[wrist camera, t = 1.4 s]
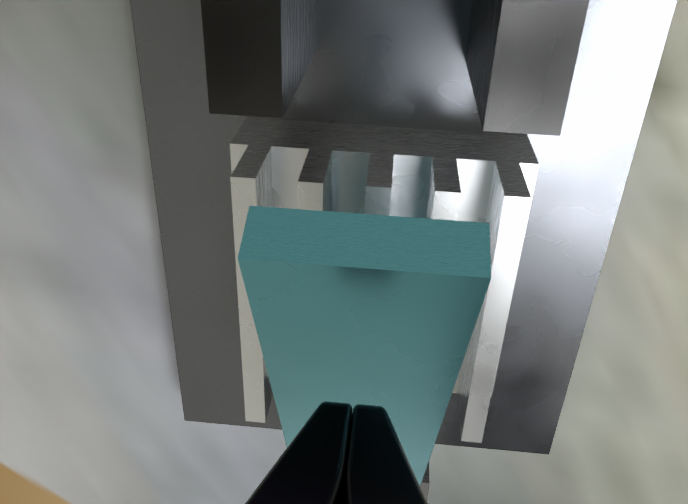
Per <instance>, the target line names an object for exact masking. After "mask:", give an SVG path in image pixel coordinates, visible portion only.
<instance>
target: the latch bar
mask: <svg viewBox="0 0 688 504" xmlns="http://www.w3.org/2000/svg"><path fill="white" fill-rule="evenodd" d="M238 262H239V266H240V270H241V274H242V277H243V281H244V285H245V289H246V293H247V296H248V300H249V304H250V308H251V312H252V316H253V319H254V323H255V327H256V331H257V335H258V338H259V342H260V346H261V350H262V354H263V357H264V361H265V365H266V369H267V373H268V376H269V380H270V384H271V388H272V392H273V396H274V399H275V403H276V407H277V411H278V415H279V418H280V422H281V426H282V430H283V434H284V437H285V441H286V445H287V447H288V446H289V445H290V443H291V442H292V441H293V439H294V438H295V437H296V435H297V434H298V433H299V431H300V430H301V429H302V427H303V426H304V425H305V423H306V422H307V421H308V419H309V418H310V417H311V415H312V414H313V413H314V411H315V410H316V409H317V407H318V406H319V405H320V404H321V403H322V402H325V401H329V402H340V403H349V404H350V405H351V406H352V409H353V408H354V407H355V405H357V404H363V405H374V406H382V407H383V408H385V410H386V411H387V413H388V415H389V418H390V420H391V422H392V424H393V427H394V429H395V431H396V433H397V436H398V438H399V440H400V443H401V445H402V447H403V449H404V452H405V454H406V456H407V458H408V461H409V463H410V465H411V467H412V470H413V472H414V474H415V476H416V479H417V481H418V483H419V485H421V482H422V479H423V476H424V473H425V470H426V467H427V464H428V462H429V459H430V456H431V453H432V450H433V447H434V444H435V441H436V438H437V435H438V432H439V429H440V426H441V424H442V421H443V418H444V415H445V412H446V409H447V406H448V403H449V400H450V397H451V394H452V391H453V389H454V386H455V383H456V380H457V377H458V374H459V371H460V368H461V365H462V362H463V359H464V356H465V353H466V351H467V348H468V345H469V342H470V339H471V336H472V333H473V330H474V327H475V324H476V321H477V318H478V316H479V313H480V310H481V307H482V304H483V301H484V298H485V295H486V292H487V289H488V286H489V283H490V280H491V254H490V223H483V222H470V221H456V220H442V219H428V218H414V217H400V216H386V215H373V214H359V213H345V212H331V211H317V210H303V209H290V208H276V207H262V206H249V209H248V214H247V218H246V223H245V227H244V232H243V236H242V241H241V245H240V250H239V254H238ZM352 414H353V413H352Z"/></svg>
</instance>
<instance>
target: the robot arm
mask: <svg viewBox="0 0 688 504" xmlns="http://www.w3.org/2000/svg"><path fill="white" fill-rule="evenodd" d="M352 413H353V414H352ZM245 504H428V503H427V501H426V499H425V497H424V494H423V492H422V490H421V488H420V485H419V483H418V481H417V479H416V476H415V474H414V472H413V470H412V467H411V465H410V463H409V461H408V458H407V456H406V454H405V452H404V449H403V447H402V445H401V443H400V440H399V438H398V436H397V433H396V431H395V429H394V427H393V424H392V422H391V420H390V418H389V415H388V413H387V411H386V410H385V408H383V407H382V406H374V405H363V404H357V405H355V407H354V408H353V409H352V406H351V405H350V404H349V403H340V402H329V401H325V402H322V403H321V404H320V405H319V406H318V407H317V409H316V410H315V411H314V413H313V414H312V415H311V417H310V418H309V419H308V421H307V422H306V423H305V425H304V426H303V427H302V429H301V430H300V431H299V433H298V434H297V435H296V437H295V438H294V439H293V441H292V442H291V443H290V445H289V446H288V447H287V449H286V450H285V451H284V453H283V454H282V455H281V457H280V458H279V459H278V461H277V462H276V463H275V465H274V466H273V467H272V469H271V470H270V471H269V473H268V474H267V475H266V477H265V478H264V479H263V481H262V482H261V483H260V485H259V486H258V487H257V489H256V490H255V491H254V493H253V494H252V495H251V497H250V498H249V499H248V501H247V502H246V503H245Z"/></svg>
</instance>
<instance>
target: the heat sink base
mask: <svg viewBox="0 0 688 504" xmlns="http://www.w3.org/2000/svg"><path fill="white" fill-rule="evenodd" d="M130 3H131V10H132V18H133V26H134V33H135V41H136V49H137V57H138V64H139V72H140V80H141V87H142V95H143V103H144V110H145V118H146V126H147V134H148V141H149V149H150V157H151V164H152V172H153V180H154V187H155V195H156V203H157V211H158V218H159V226H160V234H161V241H162V249H163V257H164V264H165V272H166V280H167V288H168V295H169V303H170V311H171V318H172V326H173V334H174V342H175V349H176V357H177V365H178V372H179V380H180V388H181V395H182V403H183V411H184V419H185V420H186V421H197V422H207V423H218V424H229V425H240V426H250V427H261V428H272V429H282V426H281V422H280V418H279V415H278V411H277V407H276V403H275V399H274V396H273V392H272V388H271V384H270V380H269V376H268V373H267V369H266V365H265V361H264V357H263V354H262V350H261V346H260V342H259V338H258V335H257V331H256V327H255V323H254V319H253V316H252V312H251V308H250V304H249V300H248V296H247V293H246V289H245V285H244V281H243V277H242V274H241V270H240V266H239V262H238V254H239V250H240V245H241V241H242V236H243V232H244V227H245V223H246V218H247V214H248V209H249V206H262V207H276V208H290V209H303V210H317V211H331V212H345V213H359V214H373V215H386V216H400V217H414V218H428V219H442V220H456V221H470V222H483V223H490V254H491V280H490V283H489V286H488V289H487V292H486V295H485V298H484V301H483V304H482V307H481V310H480V313H479V316H478V318H477V321H476V324H475V327H474V330H473V333H472V336H471V339H470V342H469V345H468V348H467V351H466V353H465V356H464V359H463V362H462V365H461V368H460V371H459V374H458V377H457V380H456V383H455V386H454V389H453V391H452V394H451V397H450V400H449V403H448V406H447V409H446V412H445V415H444V418H443V421H442V424H441V426H440V429H439V432H438V435H437V438H436V441H435V444H444V445H455V446H466V447H477V448H487V449H498V450H509V451H520V452H530V453H541V454H549V452H550V448H551V444H552V441H553V437H554V434H555V430H556V427H557V423H558V420H559V416H560V413H561V409H562V406H563V402H564V398H565V395H566V391H567V388H568V384H569V381H570V377H571V374H572V370H573V367H574V363H575V360H576V356H577V353H578V349H579V345H580V342H581V338H582V335H583V331H584V328H585V324H586V321H587V317H588V314H589V310H590V307H591V303H592V300H593V296H594V292H595V289H596V285H597V282H598V278H599V275H600V271H601V268H602V264H603V261H604V257H605V254H606V250H607V246H608V243H609V239H610V236H611V232H612V229H613V225H614V222H615V218H616V215H617V211H618V208H619V204H620V201H621V197H622V193H623V190H624V186H625V183H626V179H627V176H628V172H629V169H630V165H631V162H632V158H633V155H634V151H635V148H636V144H637V140H638V137H639V133H640V130H641V126H642V123H643V119H644V116H645V112H646V109H647V105H648V102H649V98H650V94H651V91H652V87H653V84H654V80H655V77H656V73H657V70H658V66H659V63H660V59H661V56H662V52H663V49H664V45H665V41H666V38H667V34H668V31H669V27H670V24H671V20H672V17H673V13H674V10H675V6H676V3H677V0H130ZM420 488H421V490H422V492H423V494H424V497H425V499H426V501H427V495H428V488H429V462H428V464H427V467H426V470H425V473H424V476H423V479H422V482H421V485H420Z"/></svg>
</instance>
